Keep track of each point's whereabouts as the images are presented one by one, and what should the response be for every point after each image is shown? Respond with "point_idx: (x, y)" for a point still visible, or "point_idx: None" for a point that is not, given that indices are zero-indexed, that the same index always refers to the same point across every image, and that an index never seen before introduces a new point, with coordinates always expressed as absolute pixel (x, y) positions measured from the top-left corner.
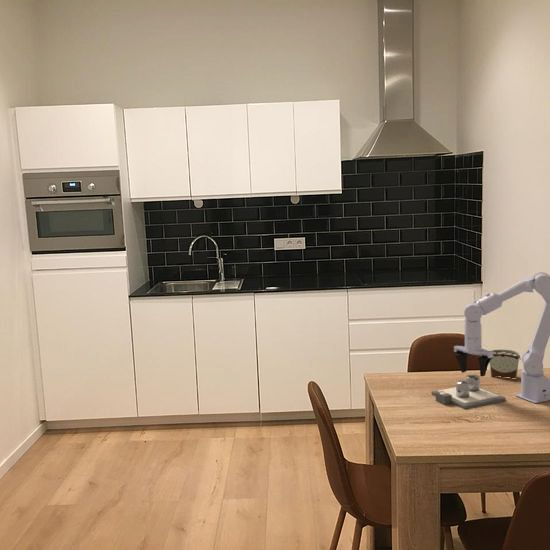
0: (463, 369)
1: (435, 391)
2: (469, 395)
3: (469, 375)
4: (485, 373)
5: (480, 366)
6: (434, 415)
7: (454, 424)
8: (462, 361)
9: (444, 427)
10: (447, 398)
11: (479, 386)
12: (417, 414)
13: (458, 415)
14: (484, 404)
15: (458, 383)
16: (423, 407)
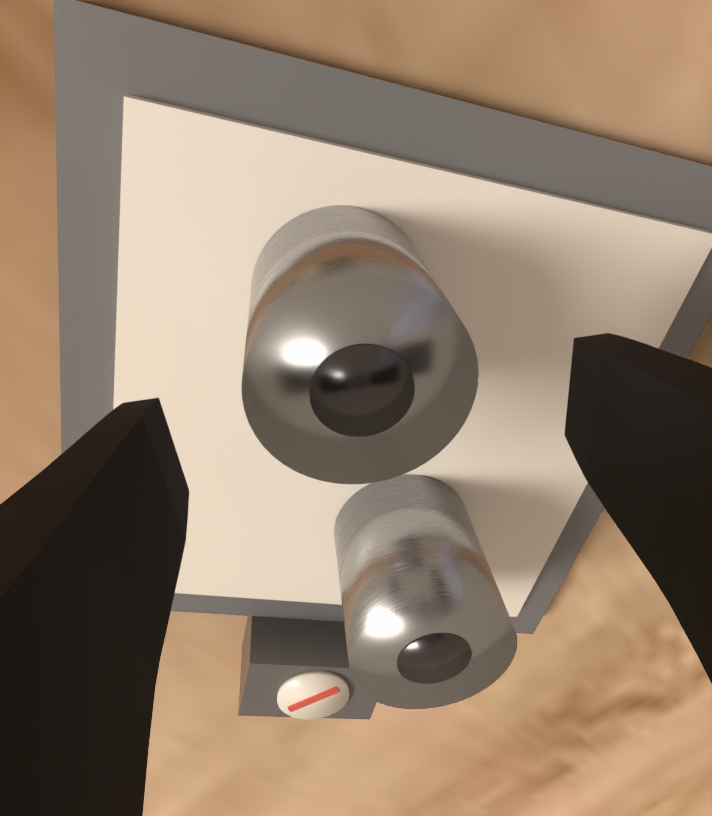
0: (174, 521)
1: None
2: (438, 471)
3: (278, 391)
4: (638, 347)
5: (700, 628)
6: (443, 771)
7: (607, 766)
8: (132, 711)
9: (584, 807)
10: None
11: (422, 260)
12: (361, 813)
13: (557, 694)
14: None
15: (422, 706)
16: (296, 753)
